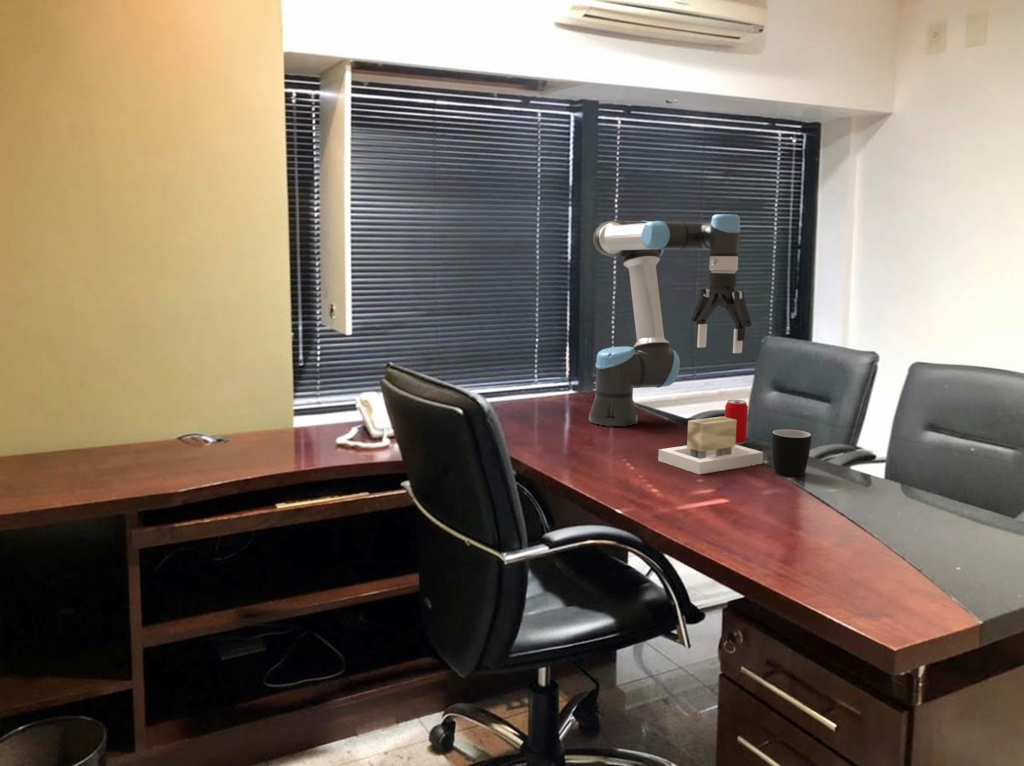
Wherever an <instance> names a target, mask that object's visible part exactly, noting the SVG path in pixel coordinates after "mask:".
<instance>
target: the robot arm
mask: <svg viewBox="0 0 1024 766" xmlns="http://www.w3.org/2000/svg"><path fill="white" fill-rule="evenodd" d="M740 236H741V218H740V216H739V215H738V214H734V213H733V214H728V213H727V214H726V213H721V214H720V213H718V214H713V215H712V217H711V221H710V222H694V221H693V222H691V221H687V222H686V221H663V220H654V221H647V220H608V221H604V222H603V223H601V224H599V225H598V227H596V229H595V231H594V233H593V236H592V238H593V239H592V241H593V245H594V247H595V250H597V251H598V252H599V253H600V254H602V255H604V256H606V257H609V258H622V262H623V266H624V267H625V268H627V270H628V273H629V274H628V275H629V281H630V289H631V291H630V292H631V300H632V309H633V317H634V318H633V319H634V325H635V333H636V334H635V336H636V342H635V344H634V345H633V346H627V345H626V346H625V345H624V346H613V347H607V348H604V349H601V350H600V351H598V353H597V355H596V361H595V391H594V392H595V395H594V396H595V397H594V399H593V400H594V401H593V403H592V406H591V409H590V411H589V415H588V422H589V421H590V422H589V423H591V424H593V423H594V424H593V425H597V424H599V425H598V426H602V425H605V426H604V427H615V426H620V427H628V426H627V425H631V426H633V425H632V424H635V423H637V424H638V420H639V419H638V413H637V409H636V406H635V402H634V396H633V394H634V389H642V388H643V389H644V388H661V387H669V386H671V385H672V384H674V382H676V380H677V378H678V376H679V372H680V368H681V364H680V363H681V361H680V356H679V354H678V352H677V351H676V350H673V349H671V345H670V344H671V343H670V342H669V340H667V339H666V338H665V334H664V326H663V325H664V324H663V317H662V316H663V315H662V308H661V299H660V291H659V290H660V289H659V283H658V275H657V265H658V263H659V262H660V260H661V259H660V257H662V256H663V254H664V253H665V250H691V251H692V250H695V251H709V266H708V267H709V271H711V272H709V273H708V282H707V285H708V286H709V288H702V289H700V290H701V291H700V296H699V299H698V301H697V304H696V307H695V308H694V312H693V314H692V316H691V321H692V322H695V323H696V336H697V341H696V343H697V344H696V348H698V349H699V348H706V347H707V337H708V335H707V334H708V324H707V320H708V319H709V317H710V316H711V315H712V313H713V312H714V311H715V309H716V308H717V307H720V308H725V309H726V310H727V313H728V314H729V316H730V317H731V320H732V322H733V323H734V325H735V328H733V340H732V341H733V343H732V354H742V353H743V341H745V335H746V333H745V331H746V329H747V328H749V327H750V328H751V327H752V325H753V324H752V321H751V317H750V315H749V314H750V313H749V312H748V307H747V304H746V301H745V293H744V290H743V291H741V290H737V291H735V288H736V287H737V285H738V275H737V274H738V273H737V271H738V270H739V268H738V267H739V249H740ZM635 425H636V424H635Z"/></svg>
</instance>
